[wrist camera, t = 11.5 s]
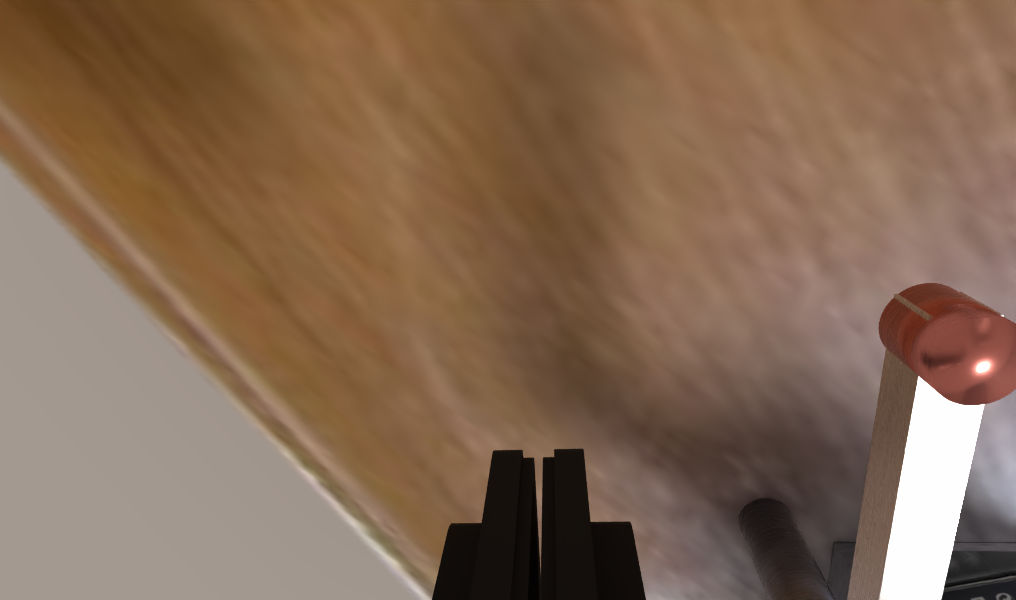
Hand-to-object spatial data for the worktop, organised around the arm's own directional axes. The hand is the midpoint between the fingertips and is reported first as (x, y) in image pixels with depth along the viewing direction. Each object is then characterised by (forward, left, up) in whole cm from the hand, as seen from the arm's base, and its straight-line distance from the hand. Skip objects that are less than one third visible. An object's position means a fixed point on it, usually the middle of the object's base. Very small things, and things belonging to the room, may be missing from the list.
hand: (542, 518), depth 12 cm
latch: (+3, +7, -2) cm, 8 cm away
